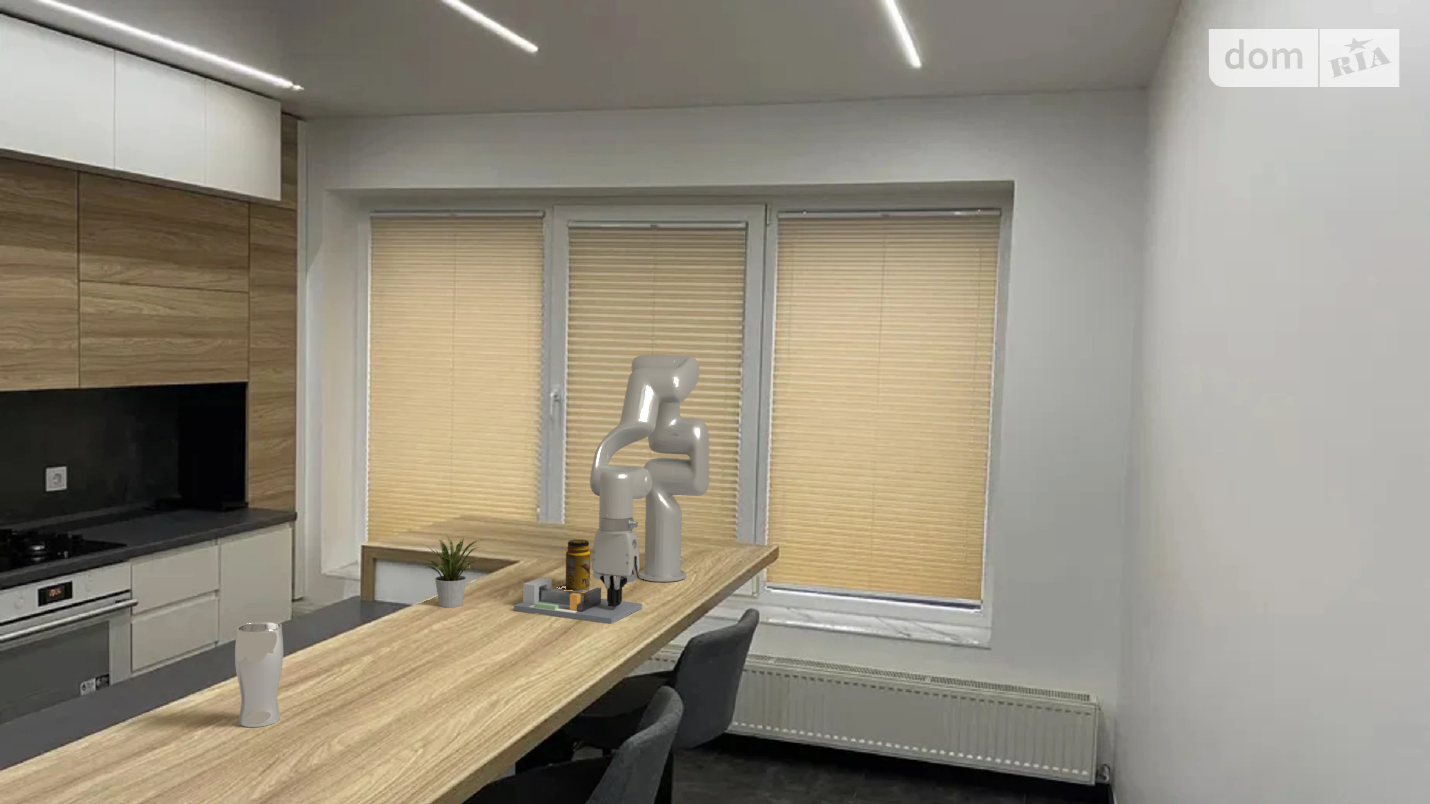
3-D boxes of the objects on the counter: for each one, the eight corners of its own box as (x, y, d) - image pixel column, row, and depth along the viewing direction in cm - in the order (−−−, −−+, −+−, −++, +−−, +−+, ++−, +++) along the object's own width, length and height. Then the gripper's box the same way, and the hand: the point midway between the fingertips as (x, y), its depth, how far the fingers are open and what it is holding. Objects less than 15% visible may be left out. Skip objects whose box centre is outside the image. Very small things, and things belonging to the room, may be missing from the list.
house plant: (500, 602, 242) (501, 533, 241) (462, 615, 230) (463, 542, 229) (451, 595, 248) (452, 527, 247) (411, 607, 236) (412, 536, 235)
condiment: (596, 590, 257) (596, 542, 257) (564, 593, 253) (565, 545, 252) (582, 584, 263) (583, 537, 263) (552, 587, 259) (553, 540, 258)
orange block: (573, 608, 233) (573, 592, 233) (580, 609, 232) (580, 593, 232) (569, 609, 231) (570, 594, 231) (576, 610, 231) (577, 595, 231)
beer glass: (244, 713, 166) (244, 620, 165) (289, 712, 167) (289, 620, 166) (227, 728, 159) (227, 632, 158) (274, 728, 160) (274, 632, 159)
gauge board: (548, 596, 249) (548, 574, 248) (641, 608, 239) (642, 585, 239) (513, 610, 235) (514, 587, 234) (611, 623, 225) (611, 599, 225)
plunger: (544, 596, 244) (544, 581, 244) (600, 603, 238) (601, 588, 238) (524, 603, 236) (524, 588, 236) (582, 611, 230) (582, 596, 230)
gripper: (652, 525, 233) (651, 605, 234) (594, 519, 239) (593, 598, 240) (638, 530, 226) (636, 612, 227) (578, 524, 232) (577, 605, 233)
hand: (614, 605), depth 233 cm, fingers closed
